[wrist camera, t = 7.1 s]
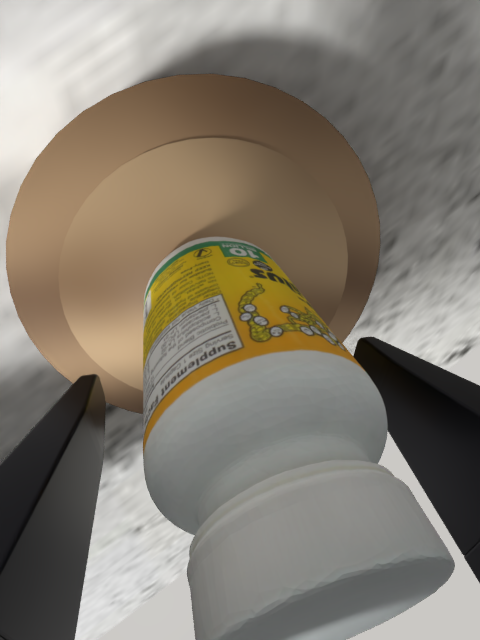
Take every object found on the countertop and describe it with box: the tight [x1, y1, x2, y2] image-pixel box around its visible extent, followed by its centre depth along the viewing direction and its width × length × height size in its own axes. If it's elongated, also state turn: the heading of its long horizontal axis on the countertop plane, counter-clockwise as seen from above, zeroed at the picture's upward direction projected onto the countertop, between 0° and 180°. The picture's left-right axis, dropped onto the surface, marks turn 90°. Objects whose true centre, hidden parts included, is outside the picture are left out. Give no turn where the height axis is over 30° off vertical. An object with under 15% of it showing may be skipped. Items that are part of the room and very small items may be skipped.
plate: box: [6, 74, 380, 414], centre depth 13 cm, size 14×14×3 cm
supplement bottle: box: [143, 237, 455, 640], centre depth 8 cm, size 5×5×10 cm
